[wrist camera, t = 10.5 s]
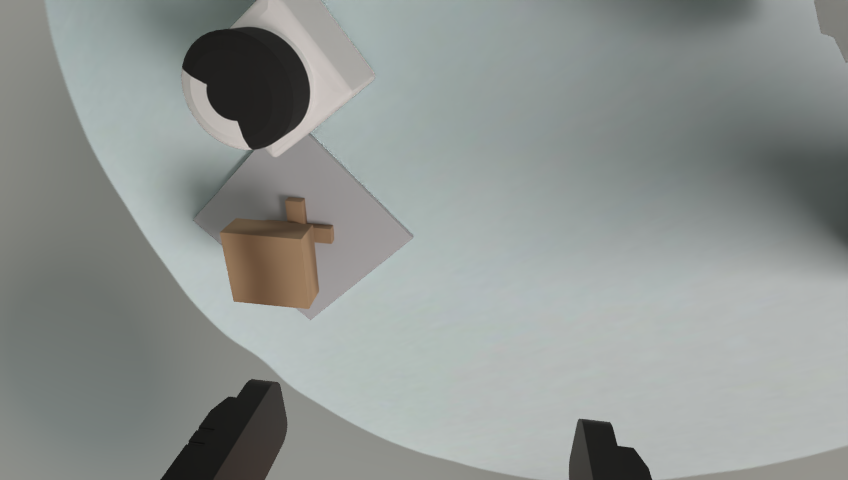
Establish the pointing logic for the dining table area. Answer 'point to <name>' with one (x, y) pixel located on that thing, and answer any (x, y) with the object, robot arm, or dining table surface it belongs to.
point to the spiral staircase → (834, 22)
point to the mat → (311, 212)
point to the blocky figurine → (272, 75)
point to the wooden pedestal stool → (275, 258)
